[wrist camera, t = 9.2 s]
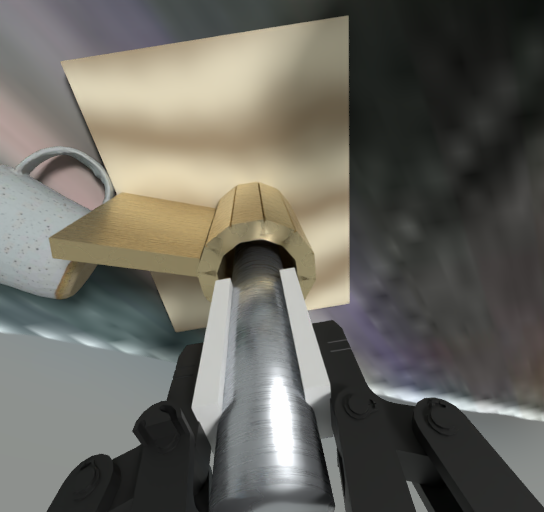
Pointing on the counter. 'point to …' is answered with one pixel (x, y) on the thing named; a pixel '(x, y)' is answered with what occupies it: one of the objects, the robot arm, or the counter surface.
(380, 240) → the counter surface
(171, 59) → the birch board
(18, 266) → the ceramic mug
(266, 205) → the brass hinge
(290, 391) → the hinge pin
